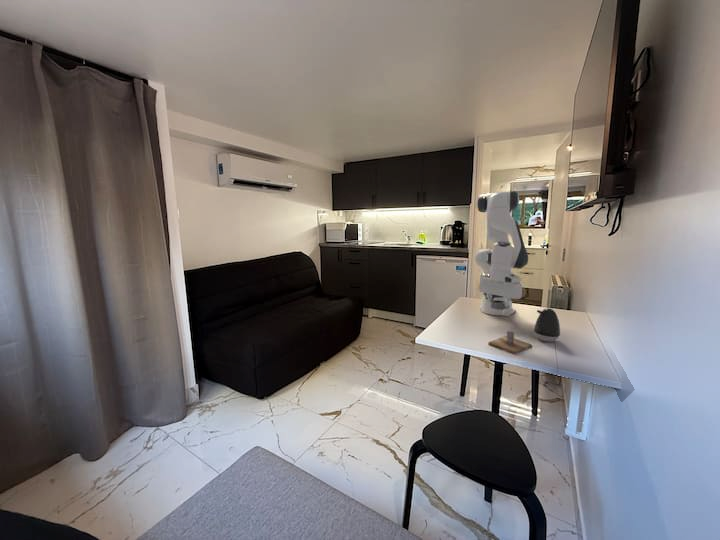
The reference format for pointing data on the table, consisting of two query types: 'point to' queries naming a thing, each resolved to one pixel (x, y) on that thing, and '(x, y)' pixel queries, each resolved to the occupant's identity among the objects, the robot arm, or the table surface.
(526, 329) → the table surface
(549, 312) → the black rounded piece
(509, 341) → the piston stand
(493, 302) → the ring
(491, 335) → the table surface
